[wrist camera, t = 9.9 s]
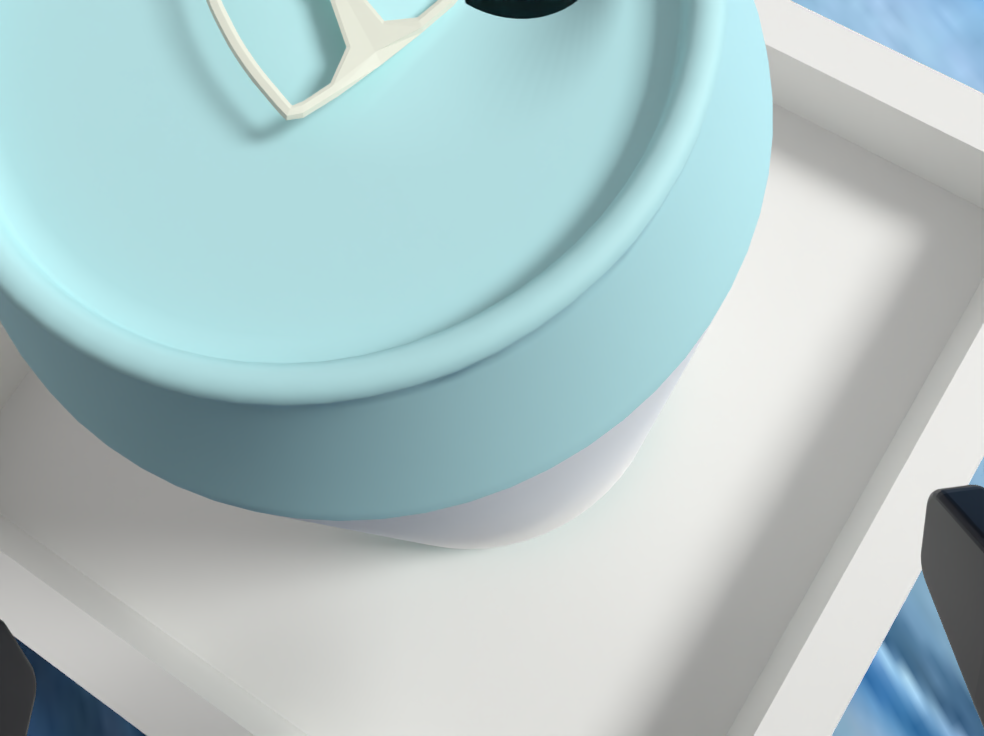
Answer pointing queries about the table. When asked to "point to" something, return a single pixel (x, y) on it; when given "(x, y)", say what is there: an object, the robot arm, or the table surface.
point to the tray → (614, 517)
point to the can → (377, 241)
